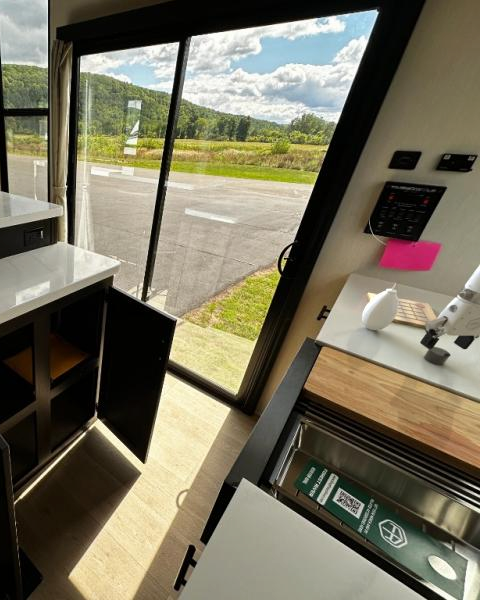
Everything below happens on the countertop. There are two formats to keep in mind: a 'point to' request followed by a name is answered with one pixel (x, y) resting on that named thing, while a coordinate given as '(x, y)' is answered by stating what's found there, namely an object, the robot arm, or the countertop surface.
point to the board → (411, 312)
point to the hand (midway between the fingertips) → (442, 346)
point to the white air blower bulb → (381, 310)
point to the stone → (437, 356)
